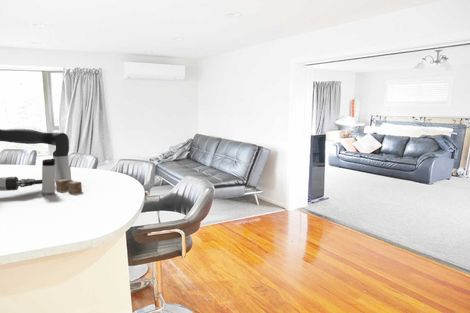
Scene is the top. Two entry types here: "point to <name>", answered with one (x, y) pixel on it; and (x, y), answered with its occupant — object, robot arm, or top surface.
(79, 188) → the walnut block one
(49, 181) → the travel mug
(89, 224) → the top surface
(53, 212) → the top surface
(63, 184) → the walnut block two
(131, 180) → the top surface
